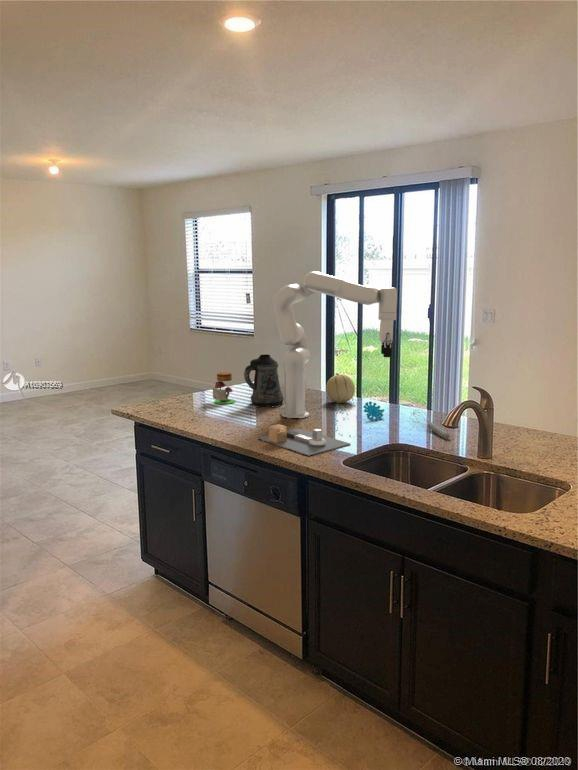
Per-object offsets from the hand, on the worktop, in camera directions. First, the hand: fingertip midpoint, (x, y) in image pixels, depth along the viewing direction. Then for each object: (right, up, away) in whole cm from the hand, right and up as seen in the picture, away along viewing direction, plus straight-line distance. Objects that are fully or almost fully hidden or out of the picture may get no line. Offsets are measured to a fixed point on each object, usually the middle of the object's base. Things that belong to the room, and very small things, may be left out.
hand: (385, 355), depth 261 cm
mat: (-37, -35, -26) cm, 57 cm away
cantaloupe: (-16, -22, +42) cm, 50 cm away
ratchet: (-37, -35, -25) cm, 57 cm away
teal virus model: (-4, -29, +10) cm, 30 cm away
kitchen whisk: (+18, -32, -8) cm, 38 cm away
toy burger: (-76, -22, +45) cm, 91 cm away
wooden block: (-47, -35, -27) cm, 64 cm away
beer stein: (-54, -23, +39) cm, 70 cm away
